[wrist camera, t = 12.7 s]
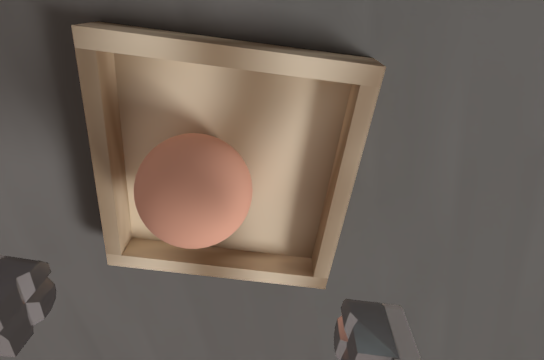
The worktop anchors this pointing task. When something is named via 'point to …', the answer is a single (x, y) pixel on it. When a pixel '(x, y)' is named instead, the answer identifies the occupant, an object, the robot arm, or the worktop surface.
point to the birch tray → (228, 142)
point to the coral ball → (193, 190)
